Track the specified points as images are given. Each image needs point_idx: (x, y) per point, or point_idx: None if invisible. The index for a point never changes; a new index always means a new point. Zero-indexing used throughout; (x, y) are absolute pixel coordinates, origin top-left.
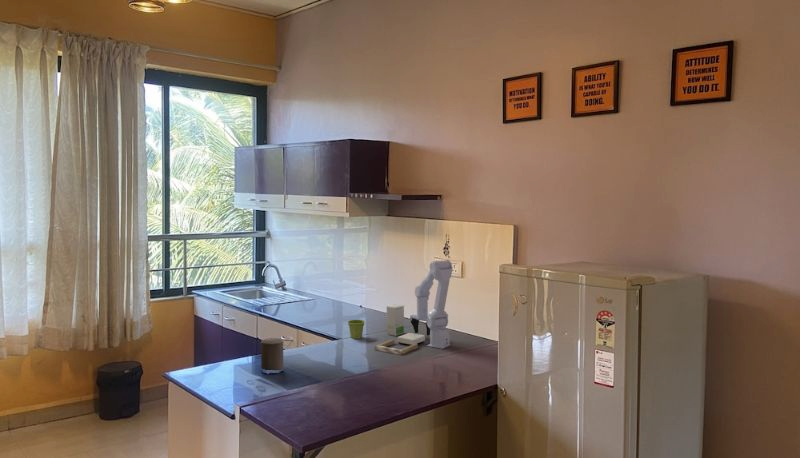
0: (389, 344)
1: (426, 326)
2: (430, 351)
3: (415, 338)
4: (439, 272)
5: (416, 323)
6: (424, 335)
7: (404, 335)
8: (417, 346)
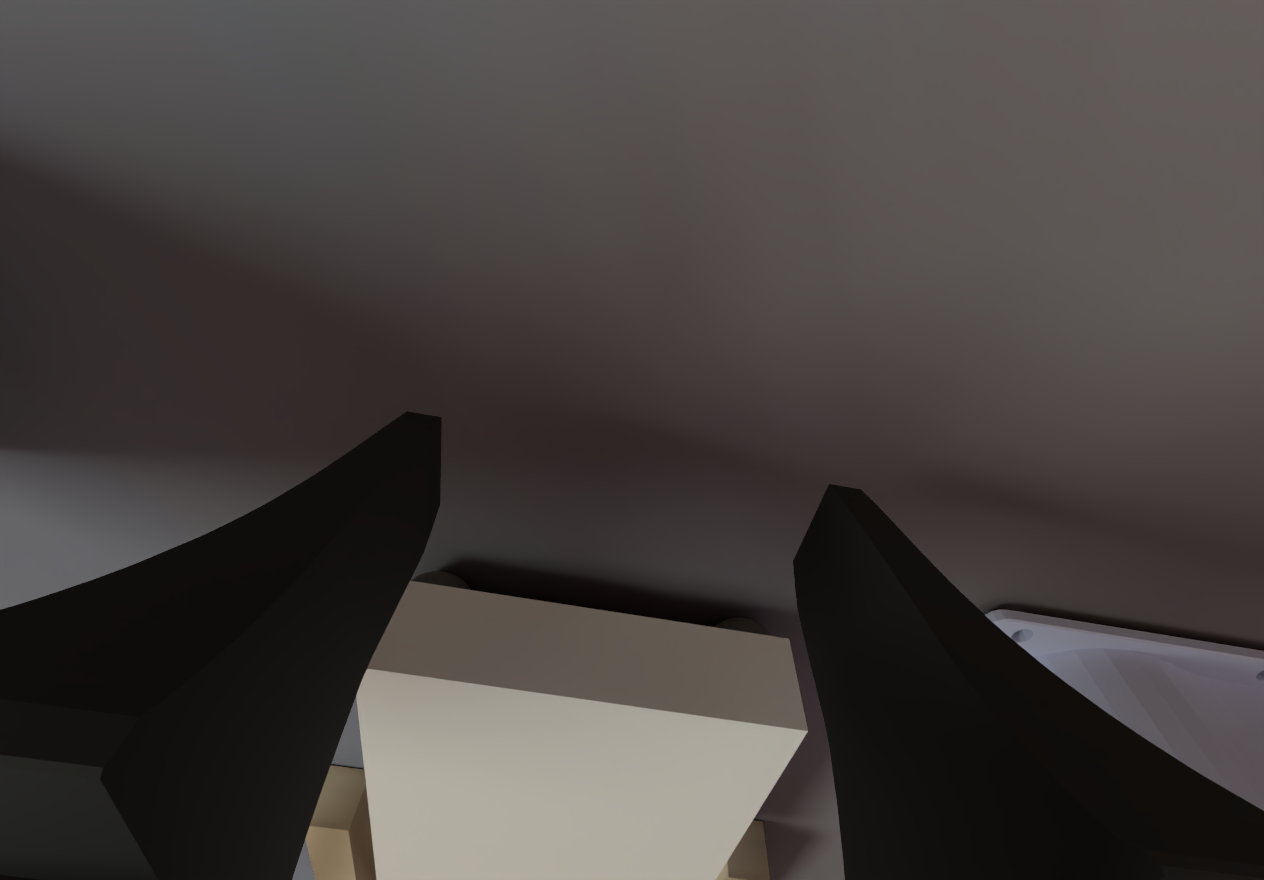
0: (371, 840)
1: (856, 864)
2: None
3: (691, 875)
4: None
5: (293, 738)
6: (794, 742)
7: (410, 810)
8: (763, 848)
